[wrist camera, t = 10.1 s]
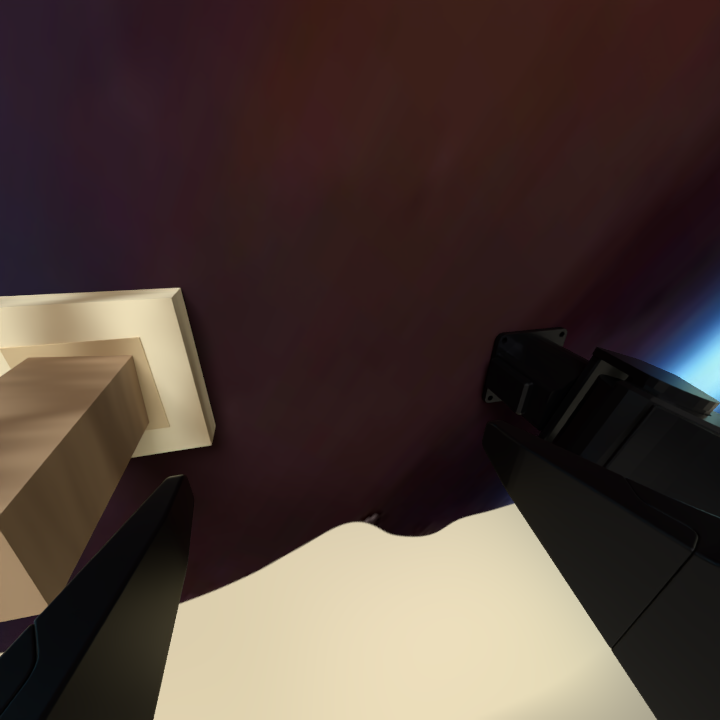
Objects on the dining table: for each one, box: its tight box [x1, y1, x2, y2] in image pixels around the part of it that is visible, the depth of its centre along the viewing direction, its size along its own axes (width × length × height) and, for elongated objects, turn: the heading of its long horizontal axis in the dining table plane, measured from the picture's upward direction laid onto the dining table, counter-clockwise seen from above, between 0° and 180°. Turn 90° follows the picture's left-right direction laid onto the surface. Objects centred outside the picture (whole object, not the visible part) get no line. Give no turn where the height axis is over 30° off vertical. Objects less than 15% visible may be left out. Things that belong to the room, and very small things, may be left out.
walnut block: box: [0, 355, 149, 622], centre depth 13 cm, size 4×4×10 cm
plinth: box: [0, 288, 216, 458], centre depth 18 cm, size 10×10×2 cm
